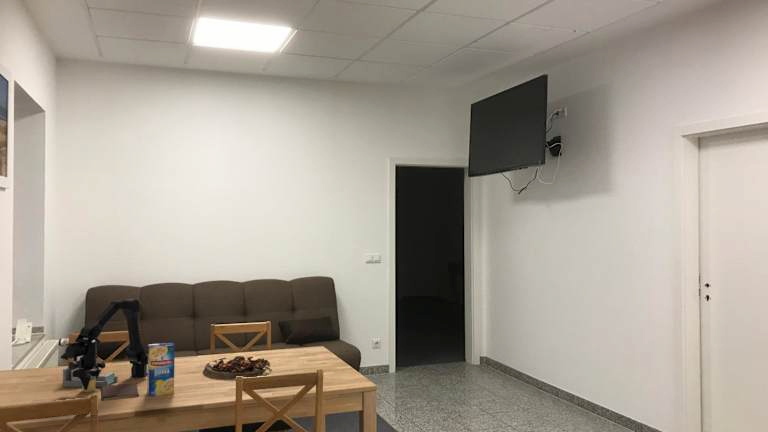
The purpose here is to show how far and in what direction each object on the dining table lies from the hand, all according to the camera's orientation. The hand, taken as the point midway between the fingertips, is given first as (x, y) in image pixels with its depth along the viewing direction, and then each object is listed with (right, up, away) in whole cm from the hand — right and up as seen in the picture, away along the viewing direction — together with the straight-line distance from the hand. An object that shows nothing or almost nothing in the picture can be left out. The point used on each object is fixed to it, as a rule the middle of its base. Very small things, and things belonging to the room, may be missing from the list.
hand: (88, 387), depth 275 cm
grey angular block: (-10, -2, +11) cm, 15 cm away
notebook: (+15, -2, -3) cm, 16 cm away
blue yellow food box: (+34, -2, -3) cm, 35 cm away
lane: (-4, -1, +11) cm, 12 cm away
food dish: (+59, -3, +38) cm, 70 cm away
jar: (0, -1, 0) cm, 1 cm away
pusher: (+4, -1, +11) cm, 12 cm away
